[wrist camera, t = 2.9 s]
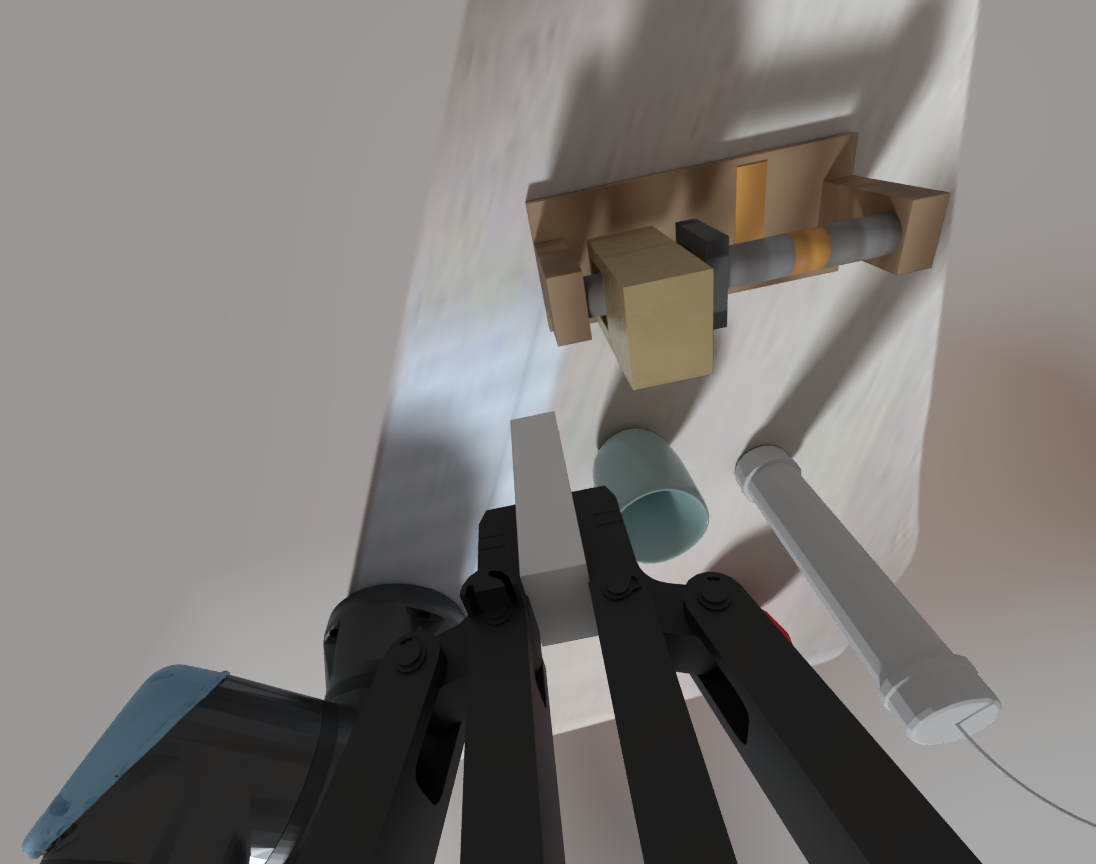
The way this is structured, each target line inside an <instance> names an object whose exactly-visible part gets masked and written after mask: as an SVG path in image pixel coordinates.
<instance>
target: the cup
mask: <svg viewBox="0 0 1096 864" xmlns="http://www.w3.org/2000/svg"><path fill="white" fill-rule="evenodd" d="M593 481H594V487H599V486H604V485H605V486H606V487H607V488H608V489H609V490H610V491H611V492H612V493H613V494H614V495H615V496H616V498H617V502H618V505H619V508H620V512H621V514H622V517H623V521H624V523H625V527H626V530H627V533H628V536H629V539H630V542H631V545H632V548H633V552H634V555H635V558H636V561H637V562H640V563H659V562H664V561H667V560H670V559H673V558H675V557H677V556H679V555H681V554H683V553H684V552H686V551H687V550H689V549H690V548H691V547H693V546H694V545H695V544H696V543H697V542H698V541H699V540H700V539H701V538H702V536H703V535H704V533H705V531H706V529H707V526H708V524H709V513H708V509H707V506H706V503H705V501H704V499H703V497H702V495H701V494H700V492H699V490H698V488H697V486H696V485H695V483H694V481H693V479H692V477H691V476H690V474H689V472H688V471H687V469H686V467H685V466H684V464H683V462H682V461H681V459H680V458H679V456H678V455H677V454H676V452H675V451H674V450H673V449H672V448H671V447H670V446H669V444H668V443H667V442H666V441H664V440H663V439H662V438H661V437H659V436H658V435H656V434H655V433H652V432H650V431H648V430H643V429H637V428H632V429H626V430H623V431H621V432H618V433H617V434H615V435H613V436H612V437H611V438H609V439H608V440H607V441H606V442H605V443H604V444H603V445H602V447H601V448H600V449H599V451H598V453H597V455H596V457H595V460H594V466H593Z"/></svg>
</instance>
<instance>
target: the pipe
mask: <svg viewBox="0 0 1096 864" xmlns="http://www.w3.org/2000/svg"><path fill="white" fill-rule="evenodd" d="M735 478H736V481H737V483H738V484H739V486H740V487H741V490H742V493H743V494H744V496H745V497H746V498H747V499H748V500H749V502H752V503H755V504H756V506H757V507H758V509H759V510H760V511H761V513H762V514H763V516H764V517H765V519H766V520H767V522H768V523H769V525H770V526H771V528H772V529H773V531H774V532H775V534H776V535H777V537H778V538H779V539H780V541H781V542H782V544H783V545H784V547H785V548H786V550H787V551H788V553H789V554H790V556H791V557H792V559H793V560H794V562H795V563H796V565H797V566H798V567H799V569H800V570H801V572H802V573H803V575H804V576H805V578H806V579H807V581H808V582H809V584H810V585H811V587H812V588H813V590H814V591H815V592H816V594H817V595H818V597H819V598H820V600H821V601H822V603H823V604H824V606H825V607H826V609H827V610H828V612H829V613H830V615H831V616H832V618H833V619H834V620H835V622H836V623H837V625H838V626H839V628H840V629H841V631H842V632H843V634H844V635H845V637H846V638H847V640H848V641H849V643H850V644H851V645H852V647H853V648H854V650H855V651H856V653H857V654H858V656H859V657H860V659H861V660H862V662H863V663H864V665H865V666H866V668H867V669H868V670H869V672H870V673H871V675H872V676H873V678H874V679H875V681H876V682H877V684H878V685H879V687H880V688H879V696H878V697H879V699H880V700H881V702H882V703H883V705H884V706H885V707H886V708H887V709H888V710H889V711H890V712H891V713H892V714H893V715H894V717H895V719H896V720H897V722H898V723H899V725H900V726H901V728H902V729H903V731H904V732H905V734H906V735H907V736H908V737H909V738H910V739H911V740H913V741H914V742H915V743H919V744H924V745H934V744H944V743H949V742H952V741H956V740H960V739H962V738H965V737H966V738H967V740H968V741H969V742H970V743H971V744H972V745H973V746H974V747H975V748H976V749H977V750H978V751H979V752H980V753H981V754H982V755H983V756H984V757H985V758H986V759H987V760H989V761H990V762H991V763H992V764H993V765H994V766H995V767H996V768H997V769H998V770H1000V771H1001V772H1002V773H1003V774H1004V775H1006V776H1007V777H1008V778H1009V779H1011V780H1012V781H1013V782H1015V783H1016V784H1018V785H1019V786H1020V787H1021V788H1023V789H1024V790H1025V791H1027V792H1028V793H1030V794H1031V795H1033V796H1034V797H1036V798H1038V799H1039V800H1040V801H1042V802H1043V803H1045V804H1047V805H1049V806H1050V807H1052V808H1054V809H1055V810H1057V811H1059V812H1061V813H1063V814H1065V815H1066V816H1069V817H1070V818H1072V819H1074V820H1076V821H1078V822H1081V823H1083V824H1085V825H1087V826H1090V827H1092V828H1094V829H1096V824H1093V823H1091V822H1089V821H1087V820H1084V819H1082V818H1080V817H1077V816H1076V815H1074V814H1072V813H1070V812H1068V811H1066V810H1064V809H1062V808H1060V807H1058V806H1057V805H1055V804H1053V803H1051V802H1050V801H1048V800H1046V799H1045V798H1043V797H1041V796H1040V795H1039V794H1037V793H1035V792H1034V791H1032V790H1031V789H1029V788H1028V787H1026V786H1025V785H1024V784H1022V783H1021V782H1020V781H1018V780H1017V779H1016V778H1014V777H1013V776H1012V775H1011V774H1009V773H1008V772H1007V771H1005V769H1003V768H1002V767H1001V766H1000V765H998V764H997V763H996V762H995V761H994V760H993V759H992V758H991V757H990V756H989V755H987V754H986V753H985V752H984V751H983V750H982V749H981V748H980V747H979V746H978V745H977V744H976V743H975V742H974V741H973V740H972V739H971V737H970V735H972V734H975V733H976V732H978V731H980V730H981V729H983V728H985V727H986V726H988V725H989V724H990V723H991V722H992V721H993V720H994V719H995V718H996V717H997V716H998V715H999V714H1000V711H1001V708H1002V705H1001V702H1000V701H999V699H998V698H997V696H996V695H995V694H994V693H993V691H992V690H991V689H990V688H989V687H988V686H987V684H986V683H985V682H984V681H983V680H982V679H981V678H980V677H979V675H978V672H977V670H976V669H975V667H974V666H973V665H972V663H971V662H970V661H969V660H968V659H967V658H966V657H964V656H960V655H957V654H953V653H952V651H951V650H950V649H949V648H948V647H947V646H946V644H945V643H944V642H943V641H942V640H941V639H940V638H939V636H938V635H937V634H936V633H935V632H934V630H933V629H932V628H931V627H930V626H929V625H928V623H927V622H926V621H925V620H924V619H923V618H922V616H921V615H920V614H919V613H918V612H917V611H916V609H915V608H914V607H913V606H912V605H911V604H910V602H909V601H908V600H907V599H906V598H905V597H904V595H903V594H902V593H901V592H900V591H899V590H898V588H897V587H896V586H895V585H894V584H893V583H892V581H891V580H890V579H889V578H888V577H887V575H886V574H885V573H884V572H883V571H882V570H881V568H880V567H879V566H878V565H877V564H876V563H875V561H874V560H873V559H872V558H871V557H870V556H869V554H868V553H867V552H866V551H865V550H864V549H863V547H862V546H861V545H860V544H859V543H858V542H857V540H856V539H855V538H854V537H853V536H852V535H851V533H850V532H849V531H848V530H847V529H846V528H845V526H844V525H843V524H842V523H841V522H840V521H839V519H838V518H837V517H836V516H835V515H834V514H833V512H832V511H831V510H830V509H829V508H828V507H827V505H826V504H825V503H824V502H823V501H822V500H821V498H820V497H819V496H818V495H817V494H816V493H815V491H814V490H813V489H812V488H811V487H810V486H809V484H808V483H807V482H806V481H805V480H804V479H803V477H802V476H801V469H800V467H799V466H798V465H797V463H796V462H795V461H794V460H793V459H792V458H790V457H789V456H788V455H787V454H786V453H785V452H784V451H783V450H782V449H780V448H778V447H775V446H760V447H757V448H754V449H752V450H750V451H749V452H748V453H746V454H745V455H743V457H742V458H741V459H740V460H739V461H738V463H737V465H736V468H735Z"/></svg>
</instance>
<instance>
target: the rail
mask: <svg viewBox="0 0 1096 864" xmlns="http://www.w3.org/2000/svg"><path fill="white" fill-rule="evenodd" d="M857 139H858V133H856V132H847V133H842V134H838V135H833V136H829V137H824V138H819V139H815V140H810V141H805V142H801V143H796V144H791V145H787V146H782V147H778V148H773V149H768V150H764V151H759V152H754V153H750V154H745V155H740V156H736V157H731V158H727V159H722V160H717V161H713V162H708V163H703V164H699V165H694V166H690V167H685V168H680V169H676V170H671V171H666V172H662V173H657V174H652V175H648V176H643V177H639V178H634V179H629V180H625V181H620V182H615V183H611V184H606V185H601V186H597V187H592V188H588V189H583V190H578V191H574V192H569V193H564V194H560V195H555V196H550V197H546V198H541V199H537V200H532V201H527V202H525V203H526V208H527V213H528V219H529V224H530V229H531V235H532V240H533V245H534V250H535V256H536V261H537V266H538V271H539V277H540V282H541V287H542V292H543V298H544V303H545V308H546V314H547V319H548V324H549V329H550V332H552V331H554V334H555V337H556V341H557V344H558V347H559V346H564V345H568V344H573V343H578V342H583V341H587V340H592V337H591V330H590V323H594V322H597V317H598V316H603V315H607V313H606V305H605V296H604V288H603V279H602V273H597V274H592V275H591V271H590V264H589V256H588V248H587V241H586V239H590V238H595V237H599V236H604V235H609V234H613V233H618V232H623V231H627V230H632V229H637V228H641V227H646V226H651V225H652V226H653V227H655V228H656V229H658V230H659V231H661V232H662V233H663V234H665V235H666V236H668V237H669V238H671V239H672V240H673V241H675V242H676V229H675V222H680V221H684V220H689V219H694V218H696V219H698V220H699V221H701V222H703V223H705V224H707V225H709V226H711V227H713V228H715V229H717V230H719V231H720V232H722V233H724V234H726V235H728V236H729V260H728V294H731V293H736V292H740V291H745V290H750V289H755V288H759V287H764V286H769V285H773V284H778V283H783V282H788V281H792V280H797V279H802V278H806V277H811V276H816V275H821V274H825V273H830V272H835V271H838V267H839V265H843V264H848V263H853V262H857V261H864V262H866V263H869V264H871V265H874V266H876V267H879V268H881V269H884V270H886V271H888V272H891V273H893V274H896V275H900V274H904V273H909V272H914V271H919V270H923V269H928V268H932V264H933V260H934V256H935V252H936V248H937V244H938V240H939V236H940V232H941V228H942V224H943V220H944V216H945V212H946V208H947V205H948V201H949V197H950V193H949V192H944V191H938V190H932V189H927V188H921V187H916V186H910V185H904V184H899V183H893V182H888V181H882V180H876V179H871V178H865V177H860V176H854V175H852V173H853V166H854V159H855V153H856V146H857ZM692 254H693V255H695V256H696V257H698V258H699V255H697V254H696V253H692Z"/></svg>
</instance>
